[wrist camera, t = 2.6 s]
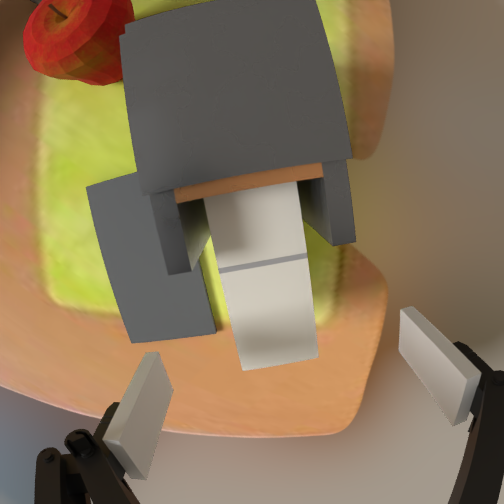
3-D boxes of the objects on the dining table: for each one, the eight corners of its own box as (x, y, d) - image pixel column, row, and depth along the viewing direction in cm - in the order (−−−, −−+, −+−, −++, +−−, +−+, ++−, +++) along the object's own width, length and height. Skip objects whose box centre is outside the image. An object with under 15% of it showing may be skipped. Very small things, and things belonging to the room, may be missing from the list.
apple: (66, 95, 23) (-13, 71, 12) (90, 21, 21) (29, -28, 9) (144, 98, 24) (80, 58, 12) (167, 18, 21) (127, -52, 10)
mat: (133, 340, 30) (131, 343, 29) (88, 186, 25) (85, 187, 25) (216, 330, 29) (216, 333, 29) (178, 162, 25) (176, 161, 25)
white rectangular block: (243, 306, 29) (242, 371, 19) (212, 154, 25) (193, 145, 15) (296, 297, 29) (318, 357, 19) (271, 143, 25) (286, 128, 15)
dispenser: (202, 227, 27) (163, 282, 14) (175, 82, 23) (117, 17, 10) (307, 208, 26) (363, 247, 13) (280, 63, 23) (308, -19, 10)
